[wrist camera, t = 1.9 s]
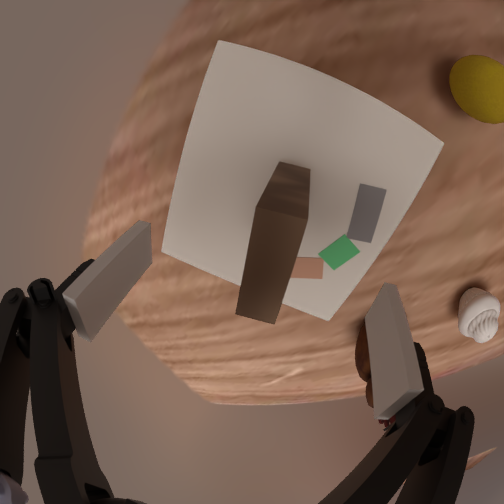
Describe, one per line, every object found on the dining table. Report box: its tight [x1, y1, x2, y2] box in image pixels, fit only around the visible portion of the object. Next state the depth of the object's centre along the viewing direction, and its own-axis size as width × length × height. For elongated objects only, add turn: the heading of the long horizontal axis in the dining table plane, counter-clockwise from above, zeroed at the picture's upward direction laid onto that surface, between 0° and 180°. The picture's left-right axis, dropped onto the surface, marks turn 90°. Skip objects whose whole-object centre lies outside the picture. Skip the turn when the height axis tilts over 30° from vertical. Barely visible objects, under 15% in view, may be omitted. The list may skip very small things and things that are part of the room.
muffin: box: [458, 287, 500, 343], centre depth 22 cm, size 6×6×7 cm
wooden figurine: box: [355, 324, 396, 427], centre depth 24 cm, size 7×6×15 cm
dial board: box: [161, 40, 444, 321], centre depth 23 cm, size 20×22×2 cm
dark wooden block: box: [235, 161, 311, 324], centre depth 20 cm, size 2×13×10 cm, turn 170°
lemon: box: [449, 55, 504, 124], centre depth 11 cm, size 6×6×8 cm
